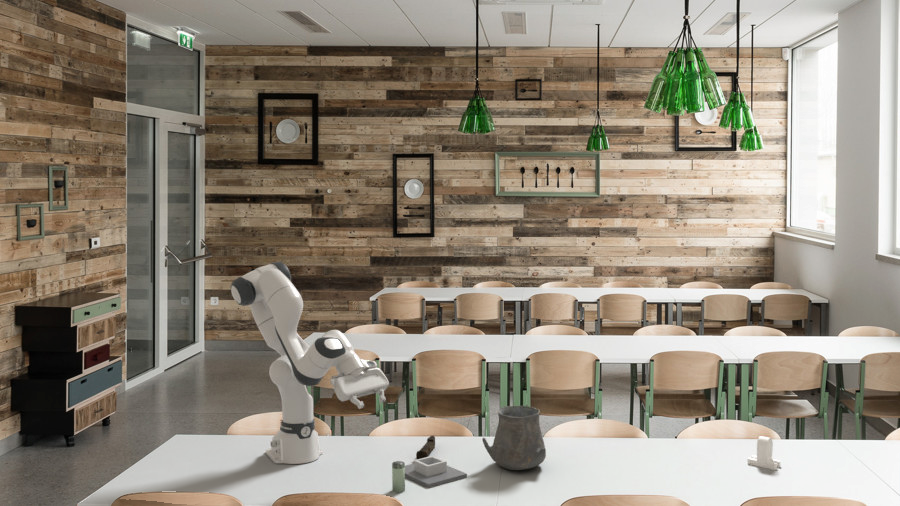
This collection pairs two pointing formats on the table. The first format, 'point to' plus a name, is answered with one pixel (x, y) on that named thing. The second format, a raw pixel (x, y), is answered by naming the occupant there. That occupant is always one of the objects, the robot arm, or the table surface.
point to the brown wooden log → (426, 448)
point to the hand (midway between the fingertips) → (372, 404)
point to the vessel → (517, 439)
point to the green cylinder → (398, 476)
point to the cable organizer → (764, 454)
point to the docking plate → (432, 472)
